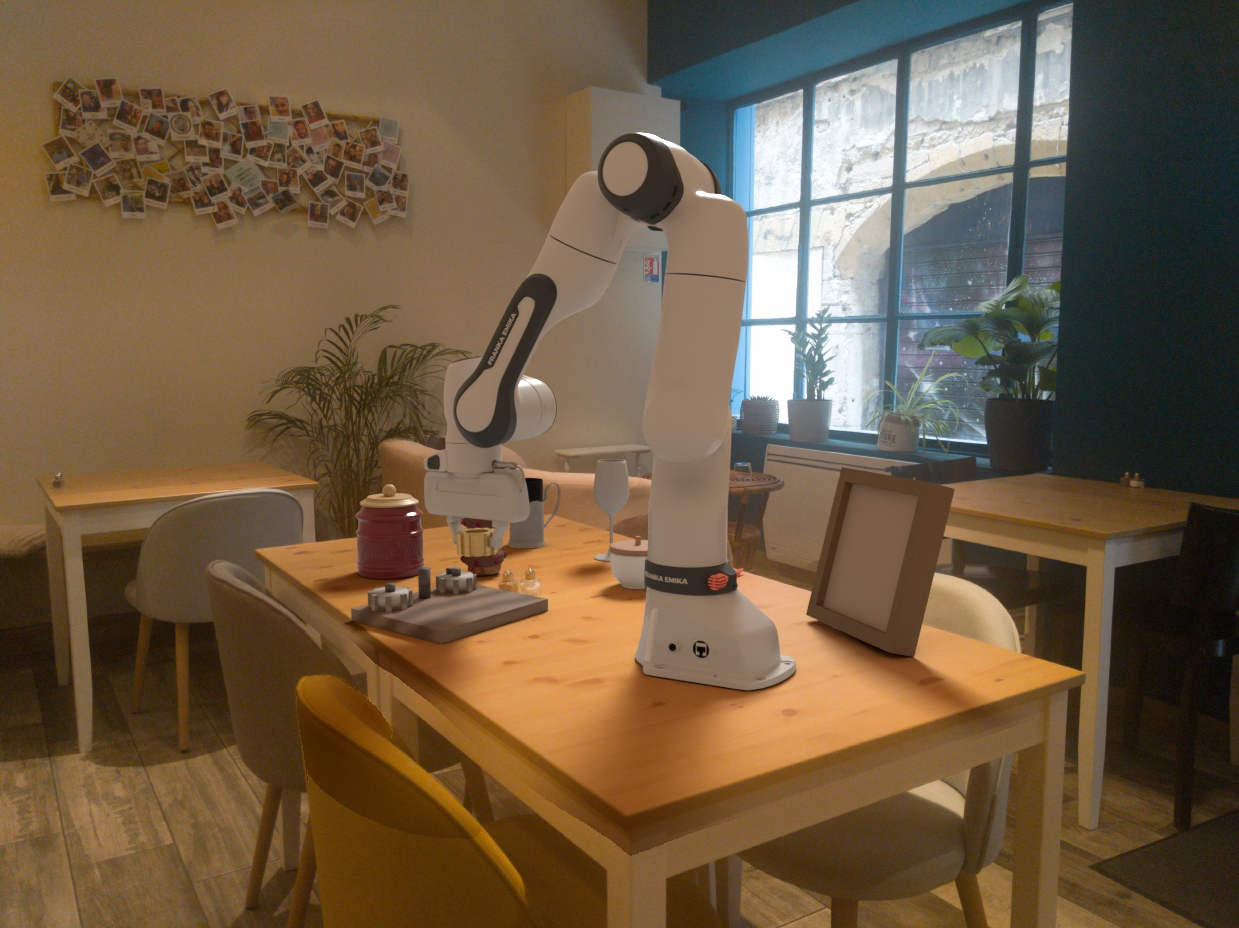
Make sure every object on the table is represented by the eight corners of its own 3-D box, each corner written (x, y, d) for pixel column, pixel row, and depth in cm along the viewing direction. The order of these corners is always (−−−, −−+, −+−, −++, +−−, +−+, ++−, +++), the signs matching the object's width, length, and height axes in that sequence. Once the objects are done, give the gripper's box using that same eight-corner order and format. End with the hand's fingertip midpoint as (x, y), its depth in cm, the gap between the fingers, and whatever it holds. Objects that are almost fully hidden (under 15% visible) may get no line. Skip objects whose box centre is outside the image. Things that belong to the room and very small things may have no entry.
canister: (401, 582, 179) (400, 490, 177) (343, 577, 183) (341, 486, 181) (436, 568, 191) (435, 481, 189) (381, 563, 195) (379, 479, 193)
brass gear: (506, 551, 151) (506, 529, 151) (477, 558, 146) (477, 536, 146) (477, 547, 155) (477, 526, 155) (448, 554, 150) (447, 532, 150)
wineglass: (635, 557, 203) (636, 460, 201) (616, 563, 197) (617, 463, 195) (606, 553, 207) (606, 458, 205) (586, 559, 201) (586, 460, 199)
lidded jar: (623, 594, 170) (623, 543, 169) (600, 582, 180) (600, 533, 179) (676, 589, 175) (676, 539, 174) (650, 577, 184) (651, 529, 183)
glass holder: (499, 544, 217) (499, 479, 215) (548, 536, 227) (548, 474, 225) (522, 549, 211) (522, 483, 209) (571, 541, 220) (571, 478, 219)
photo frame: (889, 659, 133) (897, 483, 131) (805, 620, 153) (811, 467, 151) (973, 650, 138) (983, 481, 136) (881, 613, 159) (888, 465, 156)
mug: (495, 579, 181) (495, 502, 180) (455, 577, 183) (454, 500, 181) (518, 564, 195) (518, 492, 194) (481, 562, 197) (480, 490, 195)
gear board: (548, 610, 159) (547, 569, 158) (441, 643, 140) (441, 597, 139) (460, 592, 171) (459, 554, 171) (351, 620, 152) (350, 577, 151)
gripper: (537, 460, 146) (539, 548, 147) (445, 455, 158) (448, 537, 159) (509, 464, 141) (512, 555, 142) (416, 458, 153) (419, 543, 154)
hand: (477, 545), depth 151 cm, fingers closed on brass gear, 6 cm apart
